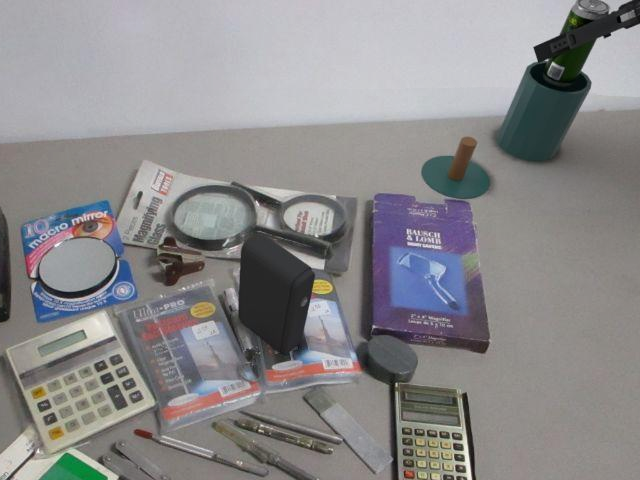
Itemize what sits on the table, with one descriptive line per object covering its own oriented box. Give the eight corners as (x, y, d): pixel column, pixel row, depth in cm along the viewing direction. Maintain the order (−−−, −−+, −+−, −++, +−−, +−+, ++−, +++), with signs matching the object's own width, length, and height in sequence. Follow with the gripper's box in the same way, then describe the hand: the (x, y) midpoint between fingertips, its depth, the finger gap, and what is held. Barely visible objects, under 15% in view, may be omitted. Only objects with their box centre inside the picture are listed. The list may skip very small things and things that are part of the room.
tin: (544, 132, 112) (579, 62, 101) (561, 167, 105) (600, 95, 95) (489, 129, 112) (519, 59, 101) (502, 163, 106) (535, 92, 95)
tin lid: (479, 162, 105) (496, 122, 99) (494, 205, 98) (513, 165, 92) (415, 158, 106) (428, 118, 99) (425, 200, 98) (439, 160, 92)
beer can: (567, 91, 96) (604, 16, 87) (536, 79, 98) (568, 5, 89) (580, 78, 99) (617, 4, 89) (548, 67, 101) (582, -7, 92)
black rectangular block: (305, 345, 79) (321, 267, 67) (285, 362, 77) (298, 286, 65) (255, 306, 82) (262, 227, 71) (235, 322, 81) (239, 243, 69)
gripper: (681, 26, 74) (520, 88, 95) (750, -8, 81) (586, 56, 102) (666, -34, 72) (505, 41, 93) (737, -64, 80) (573, 13, 100)
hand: (548, 49), depth 97 cm, fingers closed on beer can, 5 cm apart
